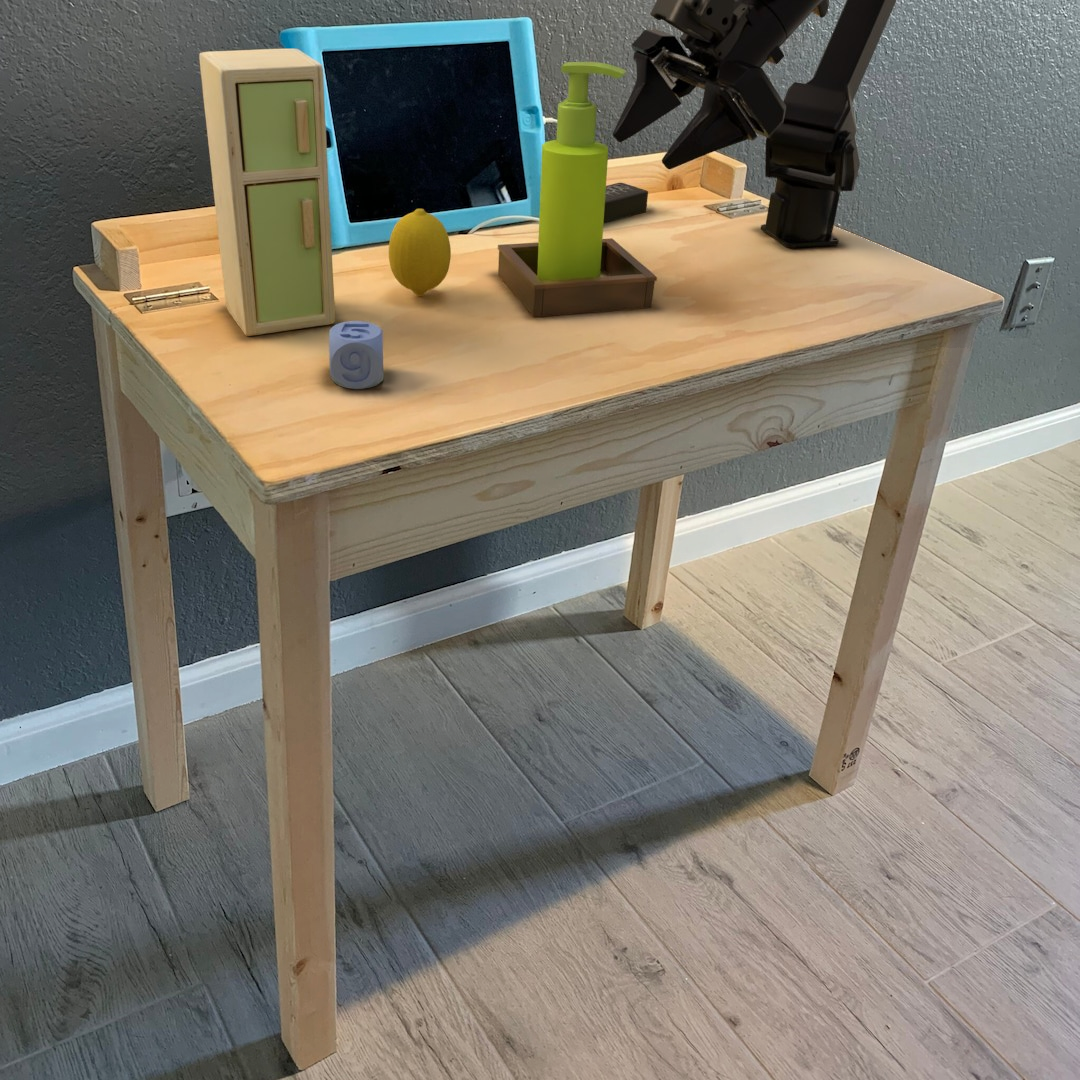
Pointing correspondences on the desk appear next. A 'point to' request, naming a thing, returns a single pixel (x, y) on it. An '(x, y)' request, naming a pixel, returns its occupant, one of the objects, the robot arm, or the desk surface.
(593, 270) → the soap dispenser
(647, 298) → the brown wooden tray
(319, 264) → the toy refrigerator
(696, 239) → the desk surface
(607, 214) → the multiport hub
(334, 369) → the decorative dice
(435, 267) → the lemon
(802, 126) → the robot arm
